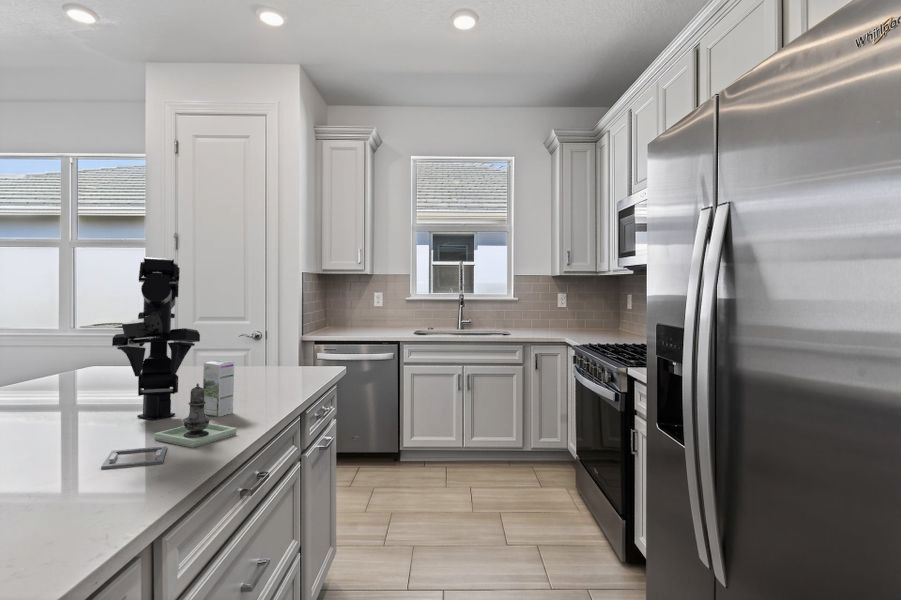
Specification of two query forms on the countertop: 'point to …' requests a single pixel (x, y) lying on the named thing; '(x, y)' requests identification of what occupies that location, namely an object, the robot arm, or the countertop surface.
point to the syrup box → (218, 388)
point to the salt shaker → (196, 415)
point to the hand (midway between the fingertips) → (155, 375)
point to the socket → (114, 454)
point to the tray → (178, 438)
